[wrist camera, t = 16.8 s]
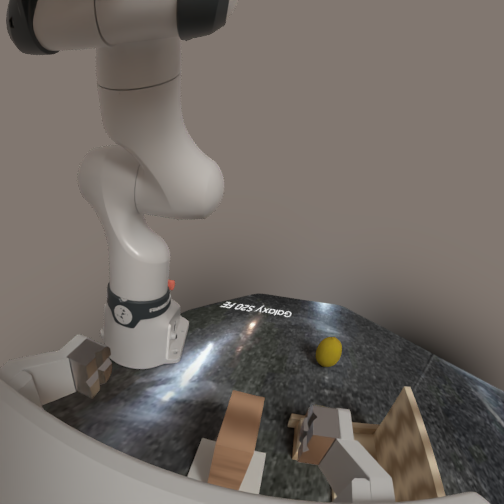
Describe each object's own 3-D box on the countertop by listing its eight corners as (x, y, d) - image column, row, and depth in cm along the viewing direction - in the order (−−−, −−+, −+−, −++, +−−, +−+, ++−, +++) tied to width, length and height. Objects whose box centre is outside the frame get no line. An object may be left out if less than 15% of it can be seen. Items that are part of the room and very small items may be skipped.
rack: (288, 421, 46) (310, 367, 42) (376, 432, 45) (408, 382, 41) (271, 550, 23) (305, 522, 18) (391, 549, 21) (449, 512, 17)
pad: (202, 439, 40) (202, 437, 40) (265, 454, 39) (265, 453, 39) (182, 488, 30) (182, 487, 30) (255, 506, 29) (256, 505, 29)
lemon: (327, 377, 60) (340, 348, 57) (306, 365, 63) (317, 336, 61) (338, 366, 64) (350, 338, 62) (318, 356, 67) (329, 327, 65)
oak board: (220, 445, 39) (233, 390, 35) (246, 451, 38) (264, 397, 34) (205, 491, 30) (215, 444, 26) (234, 498, 30) (253, 453, 26)
